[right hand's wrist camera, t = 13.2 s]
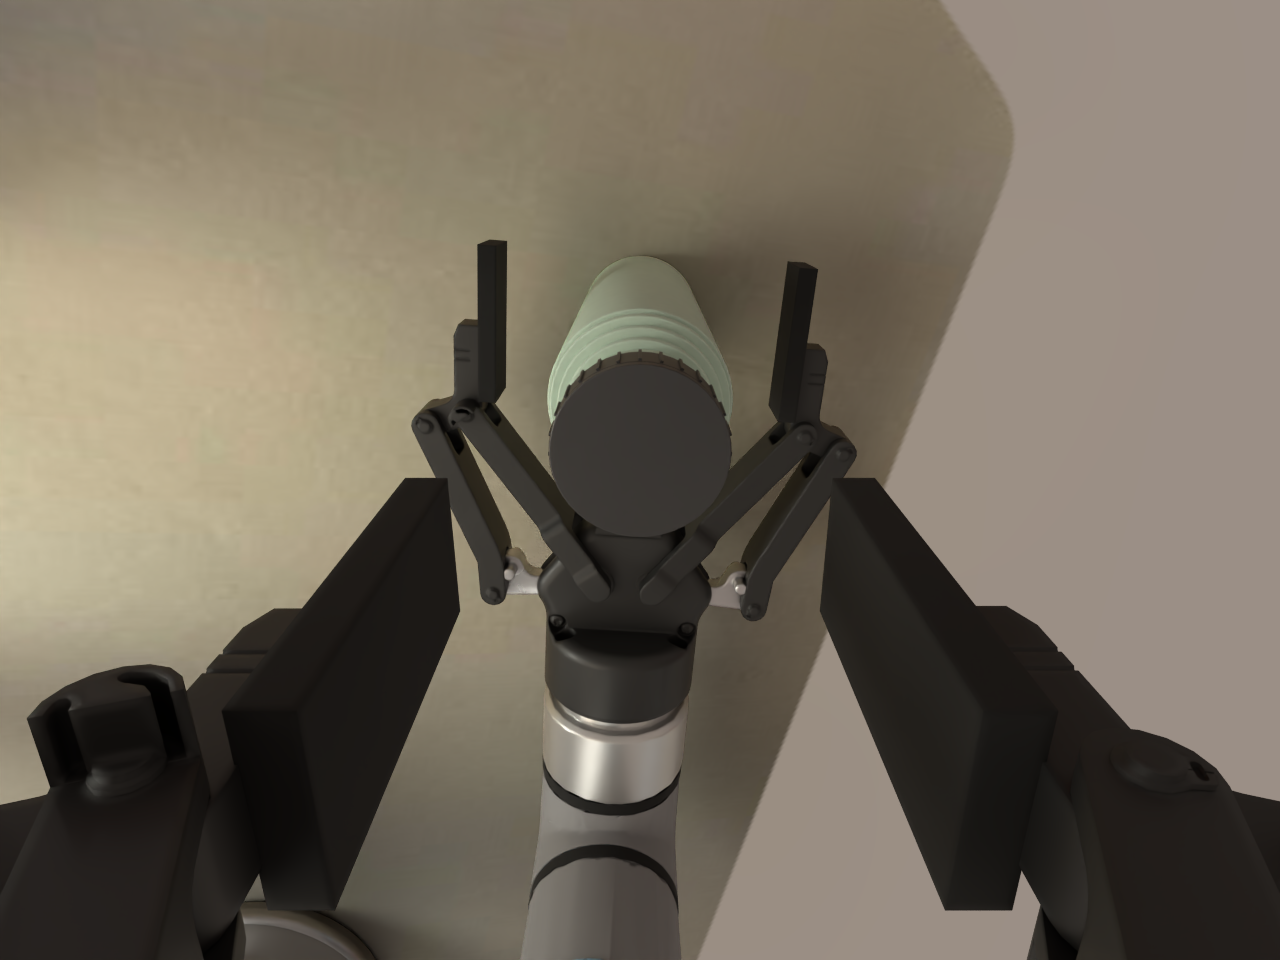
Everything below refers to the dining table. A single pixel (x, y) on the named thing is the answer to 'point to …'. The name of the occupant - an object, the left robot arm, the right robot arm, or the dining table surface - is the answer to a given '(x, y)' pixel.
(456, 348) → the left robot arm
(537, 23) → the dining table surface
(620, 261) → the bottle
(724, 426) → the cap
